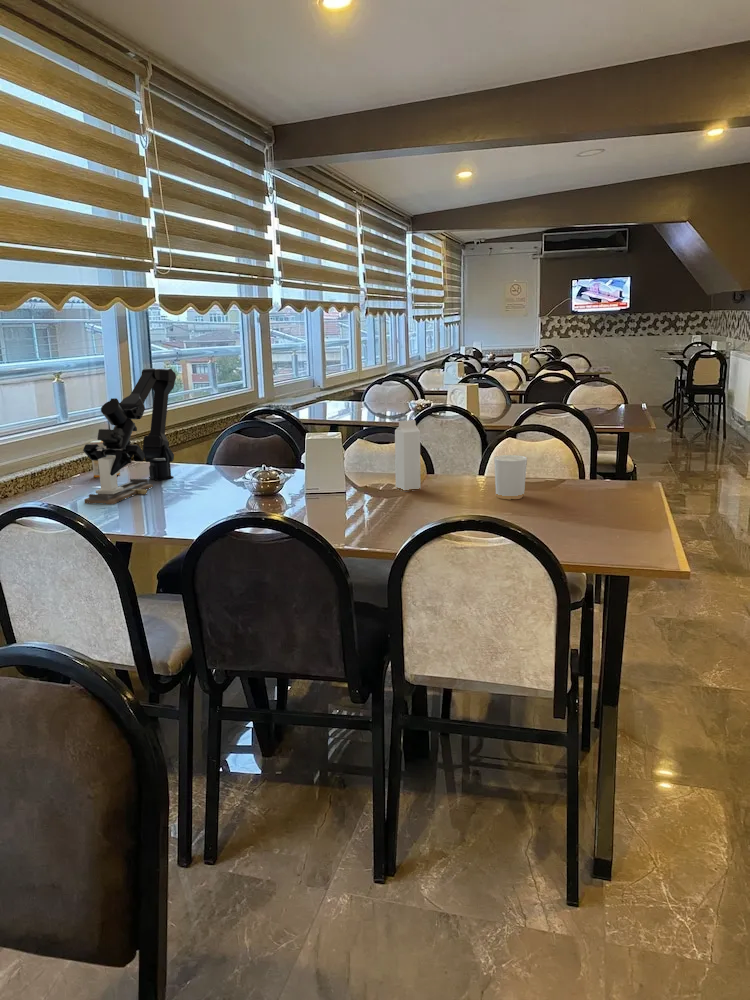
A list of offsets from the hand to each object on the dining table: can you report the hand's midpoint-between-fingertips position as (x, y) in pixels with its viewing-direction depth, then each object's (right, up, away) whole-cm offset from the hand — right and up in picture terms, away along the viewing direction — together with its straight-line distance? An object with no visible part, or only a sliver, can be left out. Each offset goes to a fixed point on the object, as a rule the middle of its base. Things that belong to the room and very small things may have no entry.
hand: (105, 474), depth 236 cm
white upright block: (0, -6, +3) cm, 7 cm away
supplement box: (-14, +1, +40) cm, 43 cm away
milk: (+94, -5, +9) cm, 95 cm away
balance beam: (+2, -6, +9) cm, 11 cm away
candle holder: (+125, -7, -5) cm, 125 cm away
